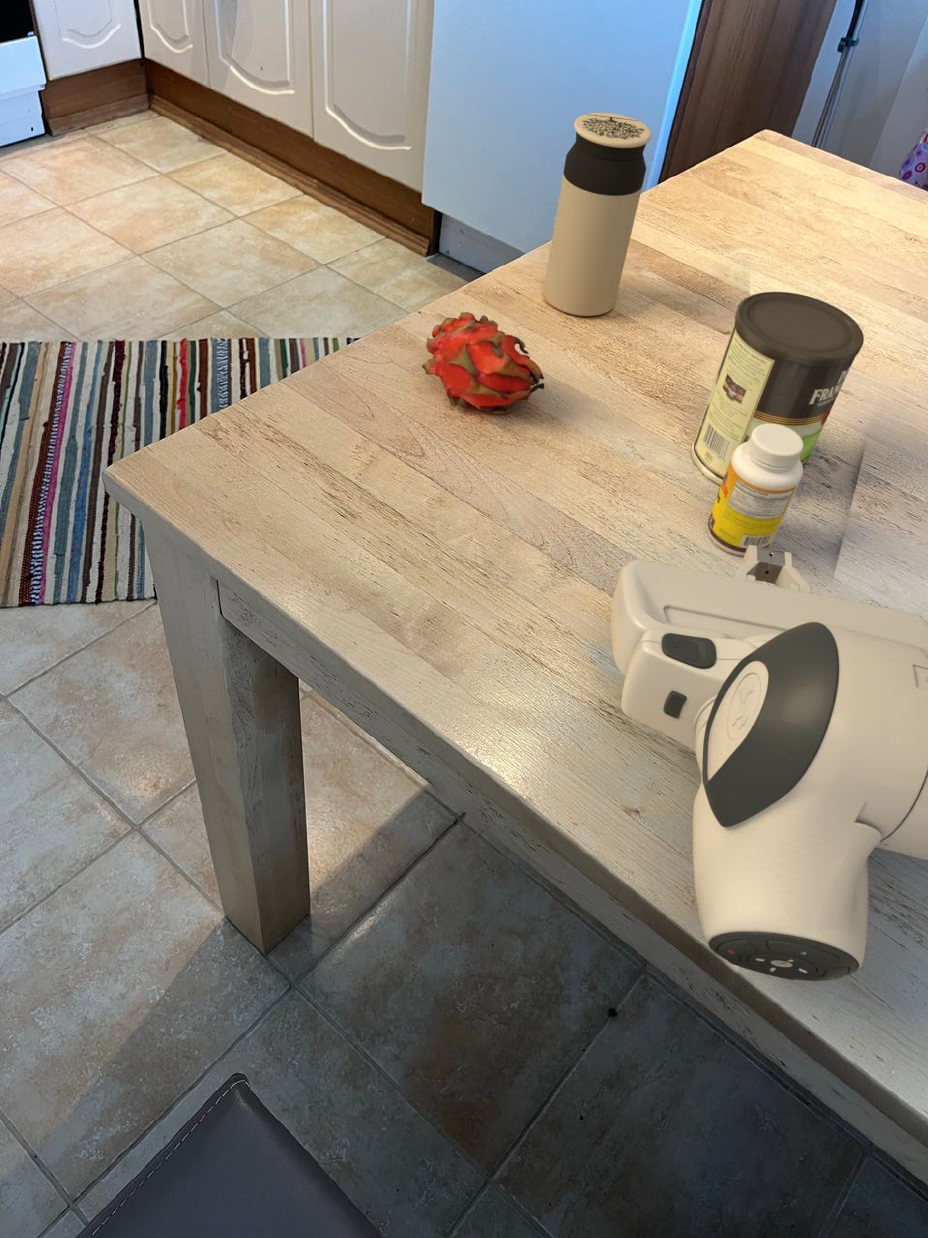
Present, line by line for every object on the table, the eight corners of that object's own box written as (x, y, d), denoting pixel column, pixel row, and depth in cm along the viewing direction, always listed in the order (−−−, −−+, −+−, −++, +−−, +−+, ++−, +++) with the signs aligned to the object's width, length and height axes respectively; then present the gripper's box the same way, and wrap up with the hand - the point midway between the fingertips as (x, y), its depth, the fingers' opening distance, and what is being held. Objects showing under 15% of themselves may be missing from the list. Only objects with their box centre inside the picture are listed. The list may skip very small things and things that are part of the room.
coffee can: (818, 460, 88) (882, 323, 78) (773, 513, 82) (836, 373, 72) (720, 413, 92) (769, 276, 81) (670, 461, 86) (715, 320, 75)
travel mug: (610, 324, 101) (651, 149, 88) (537, 310, 102) (567, 134, 88) (617, 289, 106) (656, 119, 93) (548, 275, 107) (577, 105, 94)
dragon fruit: (418, 384, 93) (525, 440, 91) (392, 376, 85) (509, 437, 83) (456, 302, 91) (566, 358, 89) (433, 285, 83) (554, 347, 81)
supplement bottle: (725, 505, 82) (764, 407, 75) (781, 537, 80) (827, 439, 72) (691, 535, 79) (728, 436, 72) (749, 569, 77) (793, 471, 69)
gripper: (974, 714, 53) (938, 551, 63) (616, 641, 55) (633, 492, 64) (924, 775, 58) (898, 615, 67) (595, 707, 60) (614, 559, 69)
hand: (766, 555), depth 66 cm, fingers closed
